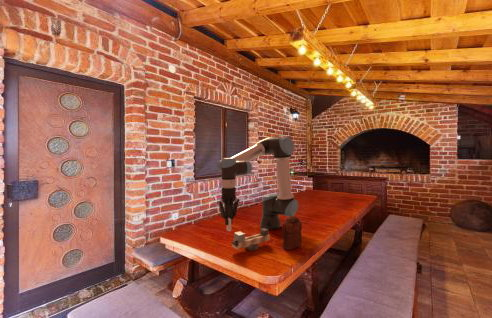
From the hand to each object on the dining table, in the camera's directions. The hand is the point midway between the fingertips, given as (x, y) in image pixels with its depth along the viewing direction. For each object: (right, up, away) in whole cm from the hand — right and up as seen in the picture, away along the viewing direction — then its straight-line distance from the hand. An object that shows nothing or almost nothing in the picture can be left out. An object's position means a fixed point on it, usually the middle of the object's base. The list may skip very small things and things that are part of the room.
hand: (228, 230), depth 136 cm
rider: (+6, -8, +4) cm, 11 cm away
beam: (+12, -13, +9) cm, 20 cm away
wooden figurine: (+36, -13, +10) cm, 39 cm away
